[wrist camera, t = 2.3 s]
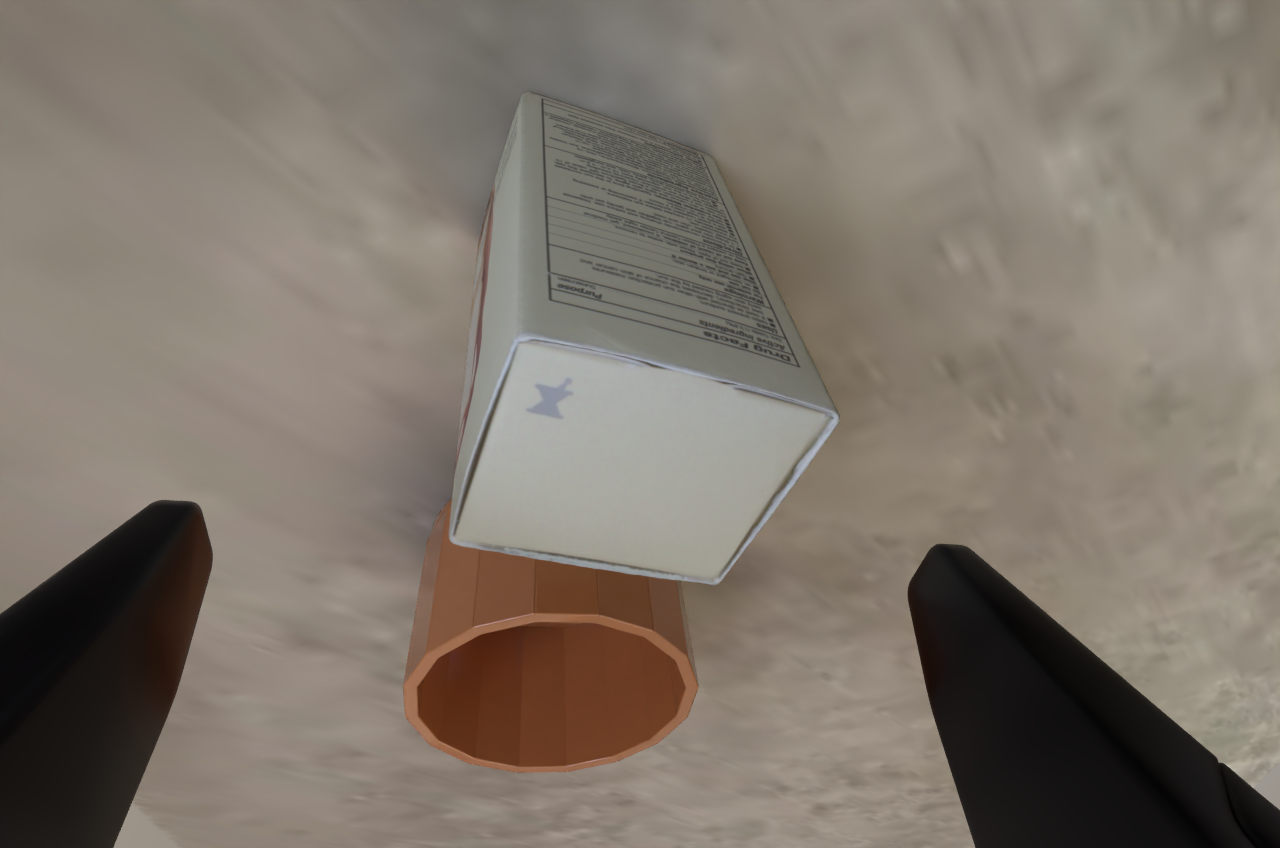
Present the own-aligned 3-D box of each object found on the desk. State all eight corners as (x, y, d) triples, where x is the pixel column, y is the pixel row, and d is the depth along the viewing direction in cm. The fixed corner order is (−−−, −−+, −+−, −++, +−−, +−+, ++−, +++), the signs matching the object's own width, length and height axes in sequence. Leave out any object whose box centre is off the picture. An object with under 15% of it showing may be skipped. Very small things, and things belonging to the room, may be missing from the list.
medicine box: (473, 250, 19) (424, 545, 12) (522, 81, 17) (499, 314, 9) (658, 307, 21) (721, 599, 13) (727, 160, 19) (853, 414, 11)
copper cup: (693, 468, 25) (725, 617, 21) (650, 624, 30) (667, 771, 26) (427, 453, 24) (397, 610, 19) (431, 620, 29) (408, 774, 24)
